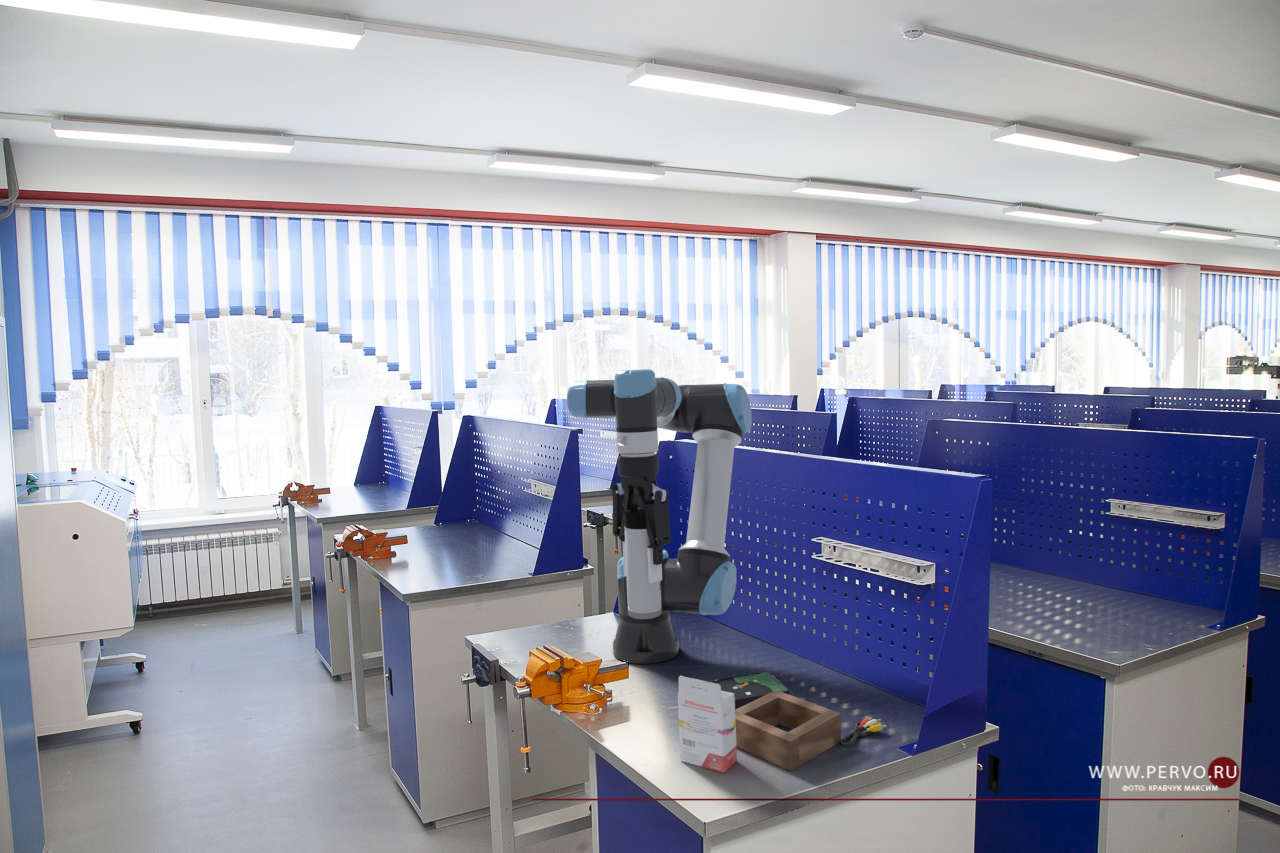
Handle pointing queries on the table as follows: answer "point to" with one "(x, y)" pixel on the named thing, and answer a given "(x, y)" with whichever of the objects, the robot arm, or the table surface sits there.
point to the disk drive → (750, 687)
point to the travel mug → (639, 569)
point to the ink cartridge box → (706, 725)
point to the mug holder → (779, 747)
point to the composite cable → (862, 731)
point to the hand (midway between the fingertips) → (642, 577)
